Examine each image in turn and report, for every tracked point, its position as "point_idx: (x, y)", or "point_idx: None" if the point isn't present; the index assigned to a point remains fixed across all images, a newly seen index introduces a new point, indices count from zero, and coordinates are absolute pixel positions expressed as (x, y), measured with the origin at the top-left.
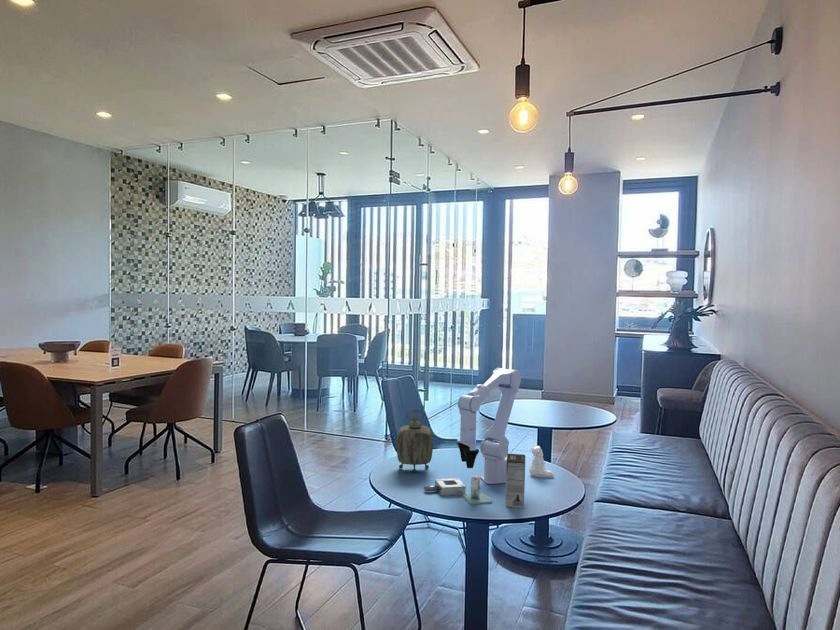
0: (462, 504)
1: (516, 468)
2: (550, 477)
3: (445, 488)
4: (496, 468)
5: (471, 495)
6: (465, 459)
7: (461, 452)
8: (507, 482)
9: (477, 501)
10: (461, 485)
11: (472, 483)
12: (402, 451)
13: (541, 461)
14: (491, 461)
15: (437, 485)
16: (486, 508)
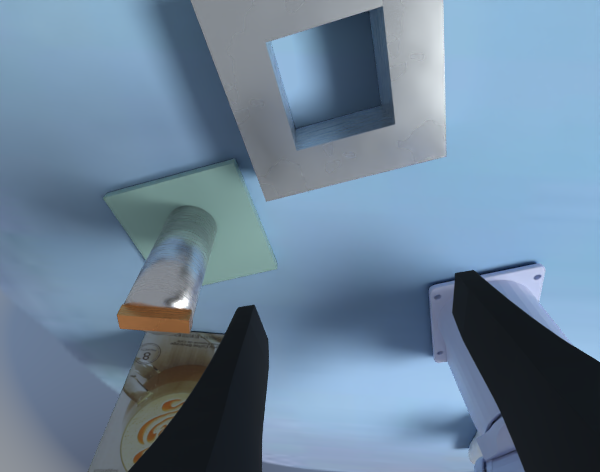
0: (92, 150)
1: None
2: (470, 444)
3: (205, 35)
4: (465, 384)
5: (172, 217)
6: (463, 314)
7: (517, 352)
8: (100, 443)
9: (141, 234)
10: (277, 174)
11: (141, 272)
12: None
13: None
14: (496, 407)
15: None
16: (91, 262)
